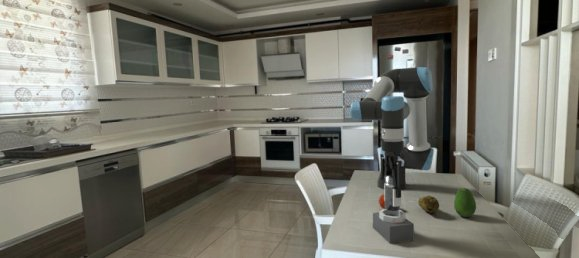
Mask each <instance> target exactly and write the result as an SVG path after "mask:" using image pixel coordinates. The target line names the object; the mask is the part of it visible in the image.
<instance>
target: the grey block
mask: <svg viewBox="0 0 579 258" xmlns="http://www.w3.org/2000/svg"><path fill="white" fill-rule="evenodd" d="M414 224H415V223H413V222H412V221H411V220H409V219H408V218H406V212H404V211H403V210H402V209H400V210H398V211H389V210H386V209H383V208H382V209H381V210H380V211H377V212H372V229H374V230H375V231H376V232H377V233H378V234H379V235H380V236H381V237H382V238H383V239H384V240H385V241H387V243H389V244H395V243H403V242H404V243H405V242H410V241H411V242H412V241H414V237H415V236H414V234H415V233H414V228H415V227H414Z"/></svg>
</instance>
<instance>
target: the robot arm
mask: <svg viewBox="0 0 579 258" xmlns="http://www.w3.org/2000/svg"><path fill="white" fill-rule="evenodd" d="M433 89H434V88H433V76H432V72H431V69H429V67H425V66H423V67H421V66H416V67H414V66H413V67H406V68H394V69H391V70H388V71H385V72H384V73H382V74H380V75H379V76H378V77H377V78H376V79H375V81H374V82H373V87H371V89H370V90H369V91H368V93H366V94H365V96H364V97H363V98H362V100H361V101H359V100H358V101H353V102H351V104H350V108H349V114H350V118H351V119H352V120H354V121H381V131H380V133H381V139H382V140H381V147H380V154H379V156H380V172H379V176H378V178H377V181H376V184H377V187H378V188H381V189H383V191H384V192H383V194H384V201H385V175H387V174H393V180H394V187H392V188H393V206H394V207H396V206H400V207H401V206H402V190H404V189H406V188H407V181H406V170H417V171H430V170H431V168H432V165H433V159H434V158H433V157H434V152H435V149H434V148H433V147H431V143H430V142H428V134H427V133H428V128H427V127H428V125H427V121H428V120H427V98H428V97H429V96H430V93H431V92H433ZM394 93H395V94H397V93H399V94H400V93H401V94H403V96H402V95H401V96H400V95H399V96H397V95H396V96H395V95H394V96H393V95H392V96H389V95H391V94H394ZM405 99H406V101H405ZM406 119H407V124H408V125H407V127H408V128H407V129H408V143H407V144H406V146H405V144H404V143H405V141H404V139H405V127H404V125H405V124H404V123H405V120H406Z"/></svg>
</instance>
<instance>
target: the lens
mask: <svg viewBox="0 0 579 258" xmlns="http://www.w3.org/2000/svg"><path fill="white" fill-rule="evenodd" d="M392 187H394V180H393V174H387V175H385V209H386V210H389V211H398V210H401V206H396V207H394V206H393V188H392Z"/></svg>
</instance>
